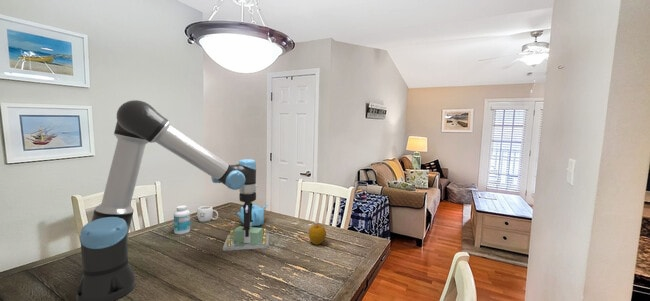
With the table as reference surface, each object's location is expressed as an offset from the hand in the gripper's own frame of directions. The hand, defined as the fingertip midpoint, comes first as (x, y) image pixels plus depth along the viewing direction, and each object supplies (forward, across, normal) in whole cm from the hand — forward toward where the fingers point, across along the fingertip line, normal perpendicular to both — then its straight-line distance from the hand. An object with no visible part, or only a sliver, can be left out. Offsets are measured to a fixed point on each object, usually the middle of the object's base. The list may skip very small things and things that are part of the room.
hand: (248, 238), depth 128 cm
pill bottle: (+2, +17, +34) cm, 38 cm away
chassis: (+2, 0, 0) cm, 2 cm away
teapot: (+2, +23, -1) cm, 23 cm away
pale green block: (0, 0, 0) cm, 0 cm away
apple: (+2, -5, -33) cm, 33 cm away
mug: (+2, +33, +25) cm, 41 cm away
